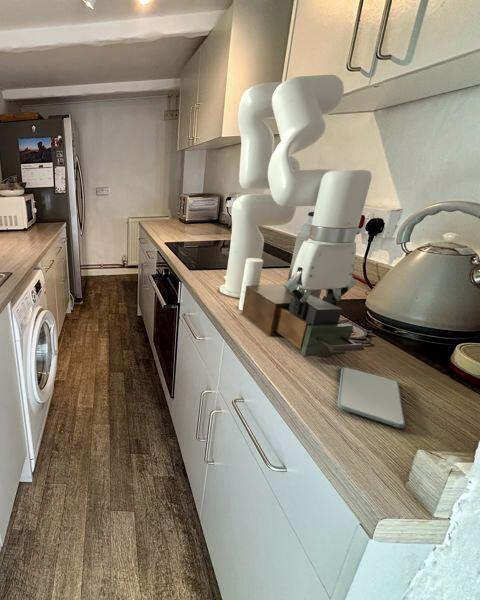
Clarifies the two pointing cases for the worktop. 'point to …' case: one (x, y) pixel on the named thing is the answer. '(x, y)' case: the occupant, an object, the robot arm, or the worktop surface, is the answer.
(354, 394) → the smartphone
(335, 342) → the drawer
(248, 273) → the tube
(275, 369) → the worktop surface
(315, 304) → the gray rectangular block
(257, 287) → the cabinet
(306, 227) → the thermos bottle
